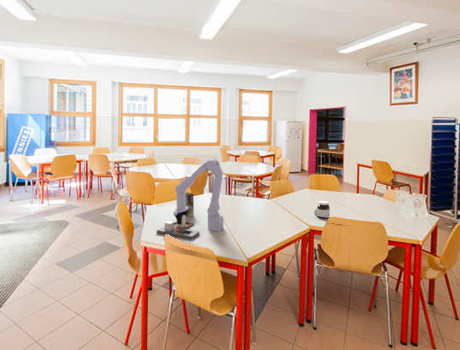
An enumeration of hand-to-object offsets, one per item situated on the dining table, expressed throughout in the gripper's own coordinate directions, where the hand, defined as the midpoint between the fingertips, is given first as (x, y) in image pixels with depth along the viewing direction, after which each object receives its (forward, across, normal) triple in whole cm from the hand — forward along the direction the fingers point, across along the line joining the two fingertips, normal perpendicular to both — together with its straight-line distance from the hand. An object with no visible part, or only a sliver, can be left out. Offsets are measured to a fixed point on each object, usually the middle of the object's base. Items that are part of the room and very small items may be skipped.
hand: (181, 223), depth 192 cm
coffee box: (+3, -22, -10) cm, 24 cm away
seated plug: (+3, +13, 0) cm, 13 cm away
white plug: (+2, 0, 0) cm, 2 cm away
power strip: (+2, +13, +6) cm, 15 cm away
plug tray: (+2, 0, 0) cm, 2 cm away
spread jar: (+3, -63, +79) cm, 101 cm away
